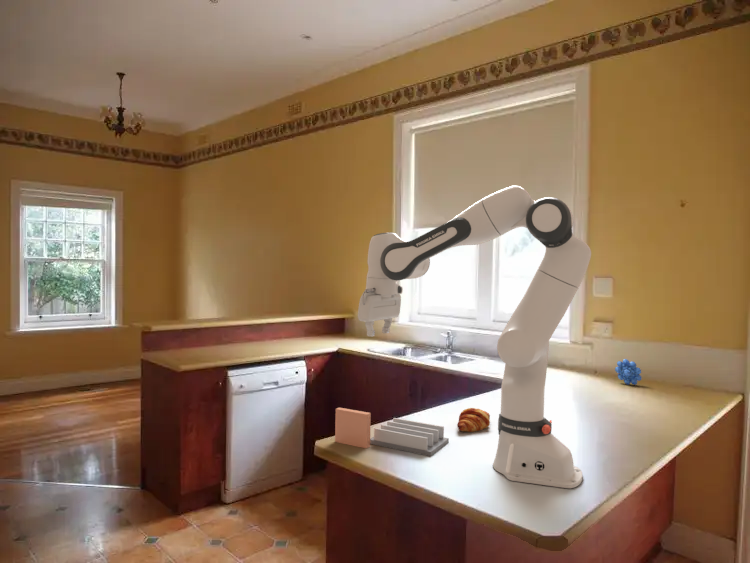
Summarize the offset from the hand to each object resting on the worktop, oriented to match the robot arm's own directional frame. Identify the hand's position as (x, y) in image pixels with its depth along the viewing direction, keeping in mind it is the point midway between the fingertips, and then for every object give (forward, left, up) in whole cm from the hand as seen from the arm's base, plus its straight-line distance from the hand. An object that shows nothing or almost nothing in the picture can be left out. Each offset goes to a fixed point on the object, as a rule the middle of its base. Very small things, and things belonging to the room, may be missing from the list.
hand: (378, 334), depth 155 cm
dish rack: (-7, -7, -33) cm, 35 cm away
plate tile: (+7, +3, -33) cm, 34 cm away
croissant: (-19, -34, -34) cm, 52 cm away
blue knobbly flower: (-60, -138, -33) cm, 155 cm away
